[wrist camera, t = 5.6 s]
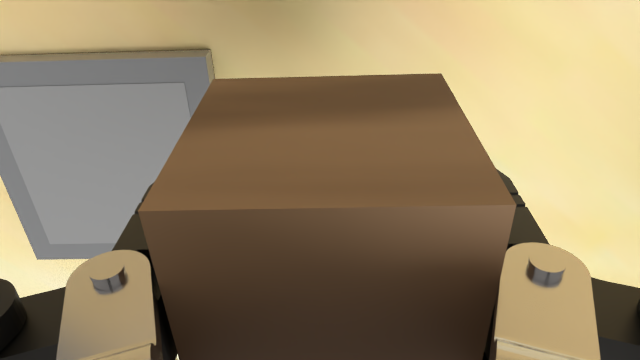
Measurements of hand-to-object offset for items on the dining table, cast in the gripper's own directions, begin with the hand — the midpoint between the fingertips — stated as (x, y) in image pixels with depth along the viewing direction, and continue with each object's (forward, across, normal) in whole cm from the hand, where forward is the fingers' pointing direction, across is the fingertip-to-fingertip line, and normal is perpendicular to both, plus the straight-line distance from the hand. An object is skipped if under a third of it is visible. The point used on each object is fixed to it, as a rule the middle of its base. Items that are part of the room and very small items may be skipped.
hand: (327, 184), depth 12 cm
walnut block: (0, 0, 0) cm, 0 cm away
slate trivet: (+15, +13, +8) cm, 21 cm away
